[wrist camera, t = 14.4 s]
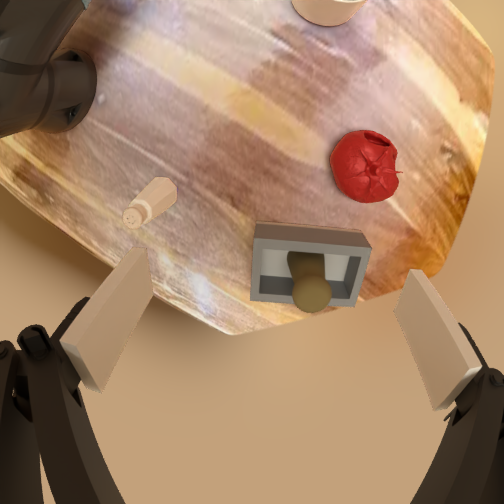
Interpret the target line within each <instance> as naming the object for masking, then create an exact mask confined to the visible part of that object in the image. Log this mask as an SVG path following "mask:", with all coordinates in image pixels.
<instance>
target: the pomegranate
mask: <svg viewBox="0 0 504 504" xmlns="http://www.w3.org/2000/svg"><path fill="white" fill-rule="evenodd" d="M396 157H397V149H396V148H395V147H394V145H393V144H392V143H391V141H390V140H389V139H388V138H386V137H384V136H383V135H381V134H378V133H376V132H374V131H370V130H359V131H353V132H350V133H348V134H346V135H345V136H344V137H343V138H342V139H341V140H340V141H339V143H338V144H337V145H336V147H335V148H334V150H333V152H332V153H331V156H330V165H331V168H332V172H333V174H334V178H335V182H336V184H337V186H338V188H339V189H340V190H341V191H342V192H343V193H344V194H345V195H346V196H348V197H349V198H351V199H353V200H355V201H358V202H360V203H373V202H379V201H383V200H385V199H387V198H389V197H391V196H392V195H393V194H394V192H395V190H396V189H397V187H398V184H399V180H398V178H397V176H396V173H400V172H398V171H395V160H396ZM402 173H403V172H402Z"/></svg>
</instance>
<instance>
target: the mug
mask: <svg viewBox="0 0 504 504" xmlns="http://www.w3.org/2000/svg"><path fill="white" fill-rule="evenodd" d="M366 2H367V0H292V4H293V6H294V8H295V9H296V11H297V12H298V13H299V14H300V15H301V16H302V17H304V18H305V19H307V20H308V21H310V22H313V23H315V24H318V25H323V26H336V25H340V24H343V23H345V22H347V21H348V20H349V19H350V18H351V17H352V16H353V15H354V14H355V13H356V12H357V11H358V10H359V9H360V8H361V7H362V6H363V5H364V4H365V3H366Z"/></svg>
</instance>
